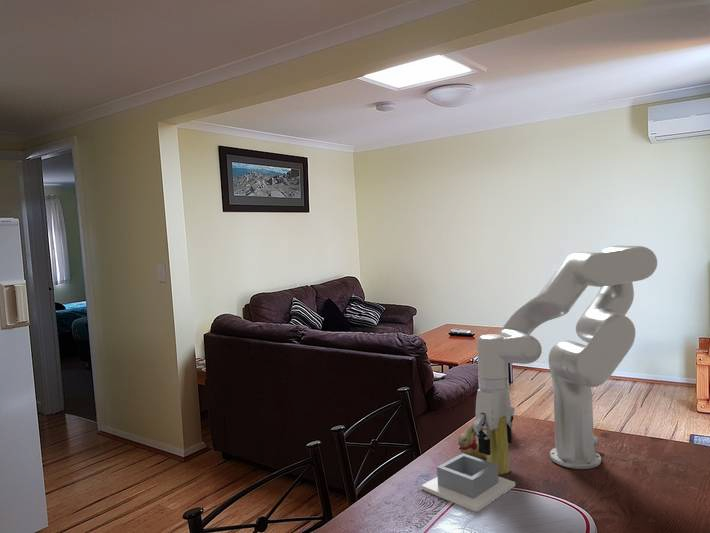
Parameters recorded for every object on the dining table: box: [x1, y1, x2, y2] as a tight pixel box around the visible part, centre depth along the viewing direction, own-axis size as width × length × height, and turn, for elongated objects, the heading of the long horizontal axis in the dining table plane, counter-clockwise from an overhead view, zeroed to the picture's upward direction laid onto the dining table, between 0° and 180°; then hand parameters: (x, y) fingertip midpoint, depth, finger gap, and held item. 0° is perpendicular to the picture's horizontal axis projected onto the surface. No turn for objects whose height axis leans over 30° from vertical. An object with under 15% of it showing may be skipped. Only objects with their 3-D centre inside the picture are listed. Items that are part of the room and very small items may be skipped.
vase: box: [485, 416, 511, 475], centre depth 135 cm, size 6×6×14 cm
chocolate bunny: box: [458, 423, 486, 460], centre depth 143 cm, size 6×8×10 cm
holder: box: [421, 453, 516, 513], centre depth 127 cm, size 16×16×6 cm
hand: (495, 447), depth 135 cm, fingers open, 9 cm apart
